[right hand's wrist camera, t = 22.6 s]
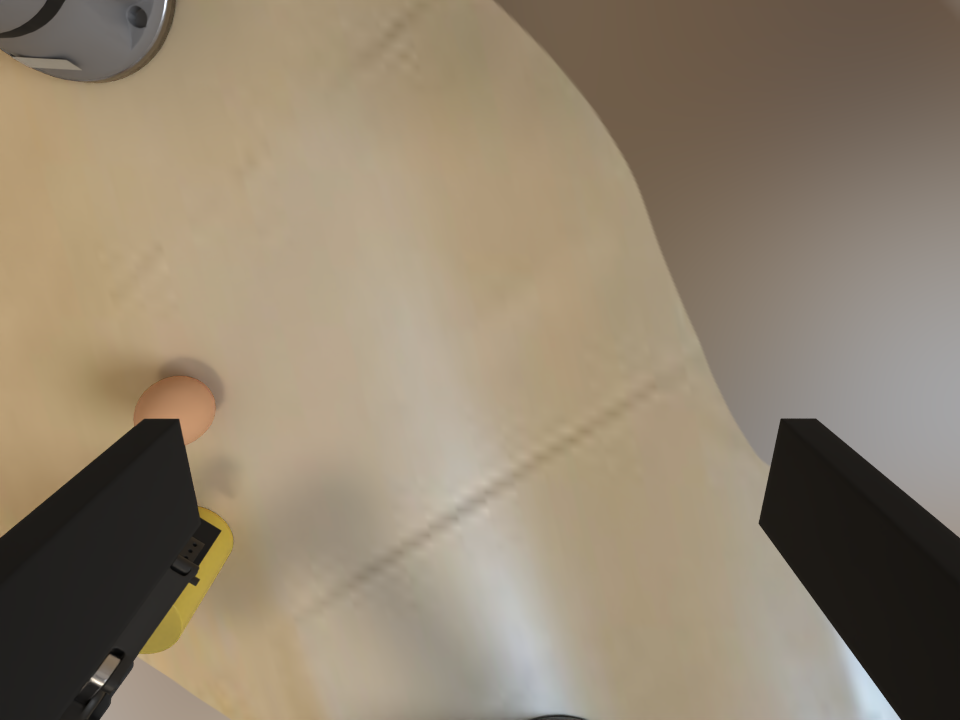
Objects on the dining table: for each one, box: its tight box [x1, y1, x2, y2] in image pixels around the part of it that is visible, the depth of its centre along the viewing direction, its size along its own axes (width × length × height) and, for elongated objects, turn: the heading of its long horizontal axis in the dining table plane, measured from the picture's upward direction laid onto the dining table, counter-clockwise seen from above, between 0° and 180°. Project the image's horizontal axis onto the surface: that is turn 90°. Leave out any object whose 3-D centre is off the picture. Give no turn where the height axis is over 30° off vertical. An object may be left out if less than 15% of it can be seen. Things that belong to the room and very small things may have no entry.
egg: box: [134, 376, 216, 445], centre depth 50 cm, size 6×6×8 cm
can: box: [139, 507, 233, 654], centre depth 55 cm, size 8×8×11 cm
